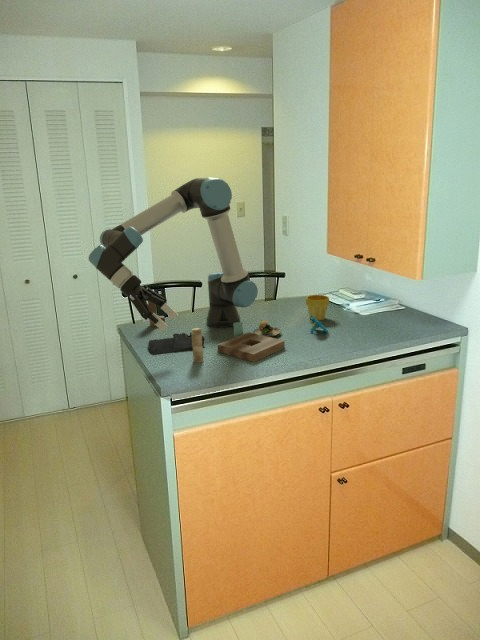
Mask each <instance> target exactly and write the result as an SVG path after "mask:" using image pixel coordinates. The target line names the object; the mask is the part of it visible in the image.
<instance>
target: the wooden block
mask: <svg viewBox="0 0 480 640" xmlns="http://www.w3.org/2000/svg"><path fill="white" fill-rule="evenodd" d="M147 304H148V306H149V308H150V310H151V312H152V314H153V313H155V314H156V315H157V316H158V317H159V318H160V319H161V320H162V321H164V322H165V323H166V318H165V316H164V315H158V313H157V310H158V309H157V305H156V304H154V303H152V302H150V301H147ZM149 325H150V328H152V327H153V328H154V327H157V326H156V325H155V324H154V323H153V322H152V321H151V320H149Z"/></svg>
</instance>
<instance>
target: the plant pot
mask: <svg viewBox="0 0 480 640" xmlns="http://www.w3.org/2000/svg"><path fill="white" fill-rule="evenodd" d="M305 305H306V306H307V310H308V314H309V319H310V320H311V321H314V320H313V319H312V318H311V317H310V316H311V315H312V316H313V317H314V318H315V319H316V320H318V321H323V320H325V319H326V316H327V315H326V314H327V310H328V307H329V305H330V297H329V296H327V295H324V294H311V295H307V296H306V297H305Z"/></svg>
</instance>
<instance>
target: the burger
mask: <svg viewBox="0 0 480 640" xmlns="http://www.w3.org/2000/svg"><path fill="white" fill-rule="evenodd" d="M268 323H269V321H268V320H261V322H260V323H259V326H258V328H255V329H254V330H252V333H254V334H258V335H262V336H267V337H271V338H273V337H276V336H278V335H279V334H280V333H282V330H281V329H280V328H278V327H273V326H271V325H270V324H268Z"/></svg>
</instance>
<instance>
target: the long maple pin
mask: <svg viewBox="0 0 480 640" xmlns="http://www.w3.org/2000/svg"><path fill="white" fill-rule="evenodd" d="M202 331H203V330H202V328H201V327H195V328H192V329H191V331H190V332H191V333H192V347H193V350H192V356H193V357H192V358H193V363H196V364H201V363H203V362H204V350H203V349H204V348H203V346H202V336H203V333H202Z"/></svg>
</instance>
